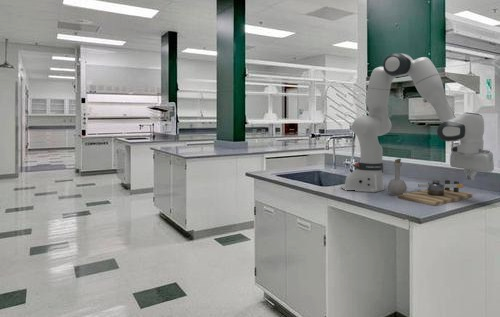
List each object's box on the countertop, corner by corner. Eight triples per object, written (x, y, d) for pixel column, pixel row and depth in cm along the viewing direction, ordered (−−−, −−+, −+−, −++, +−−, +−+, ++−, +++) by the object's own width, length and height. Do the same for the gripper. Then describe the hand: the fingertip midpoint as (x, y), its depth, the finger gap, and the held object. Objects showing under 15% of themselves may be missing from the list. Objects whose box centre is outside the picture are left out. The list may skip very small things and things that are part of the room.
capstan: (421, 195, 165) (421, 181, 164) (415, 192, 172) (415, 179, 171) (465, 195, 164) (466, 181, 163) (457, 192, 171) (458, 179, 170)
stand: (434, 205, 153) (435, 191, 152) (398, 198, 168) (398, 184, 167) (472, 196, 169) (473, 183, 168) (435, 190, 184) (436, 178, 183)
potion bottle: (404, 196, 170) (406, 159, 168) (385, 194, 175) (386, 158, 173) (407, 193, 178) (409, 157, 176) (388, 191, 182) (390, 157, 180)
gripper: (498, 150, 149) (497, 182, 151) (458, 147, 169) (457, 175, 170) (486, 150, 148) (485, 183, 149) (447, 147, 167) (447, 176, 169)
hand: (470, 179), depth 160 cm, fingers closed
